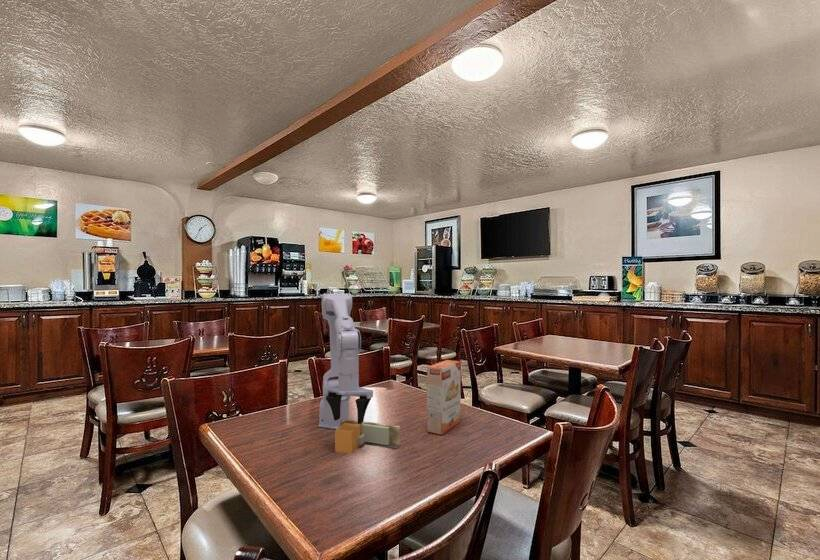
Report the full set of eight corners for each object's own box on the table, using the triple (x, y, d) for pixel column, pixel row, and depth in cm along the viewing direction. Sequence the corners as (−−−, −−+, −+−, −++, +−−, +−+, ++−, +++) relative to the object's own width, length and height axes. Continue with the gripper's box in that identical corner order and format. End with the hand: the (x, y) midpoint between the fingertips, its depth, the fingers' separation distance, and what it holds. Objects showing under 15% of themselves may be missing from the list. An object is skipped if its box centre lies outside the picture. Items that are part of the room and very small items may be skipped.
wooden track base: (339, 440, 115) (339, 421, 115) (344, 436, 118) (344, 418, 118) (396, 449, 109) (396, 429, 109) (400, 445, 111) (400, 426, 112)
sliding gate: (356, 445, 110) (356, 428, 110) (363, 439, 114) (363, 423, 114) (383, 449, 107) (383, 432, 107) (389, 443, 111) (389, 427, 111)
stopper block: (335, 451, 107) (335, 430, 108) (344, 443, 113) (344, 422, 113) (351, 453, 106) (351, 432, 106) (360, 445, 112) (360, 424, 112)
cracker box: (443, 436, 118) (442, 368, 118) (426, 432, 121) (425, 366, 121) (461, 422, 130) (461, 360, 130) (445, 419, 133) (445, 359, 133)
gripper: (318, 374, 108) (318, 422, 108) (364, 378, 103) (365, 429, 103) (332, 369, 114) (332, 414, 114) (376, 372, 109) (376, 420, 109)
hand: (348, 421), depth 109 cm, fingers open, 7 cm apart
